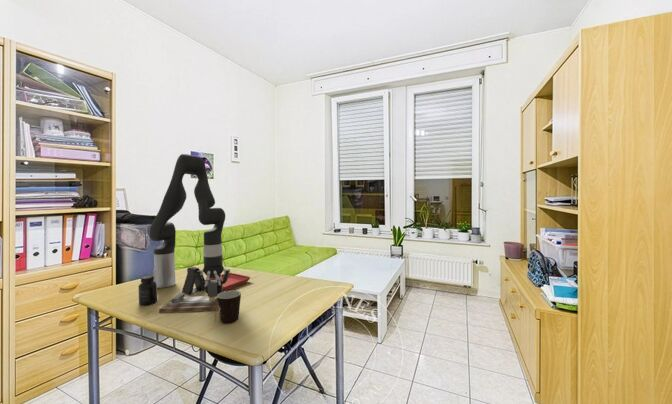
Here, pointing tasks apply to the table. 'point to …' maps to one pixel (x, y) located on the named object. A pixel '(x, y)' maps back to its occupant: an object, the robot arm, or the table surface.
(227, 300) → the coffee mug
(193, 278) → the phone stand
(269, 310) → the table surface
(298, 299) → the table surface
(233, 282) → the plant saucer
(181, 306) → the slider puzzle board
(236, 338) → the table surface
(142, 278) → the supplement bottle
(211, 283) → the leg
